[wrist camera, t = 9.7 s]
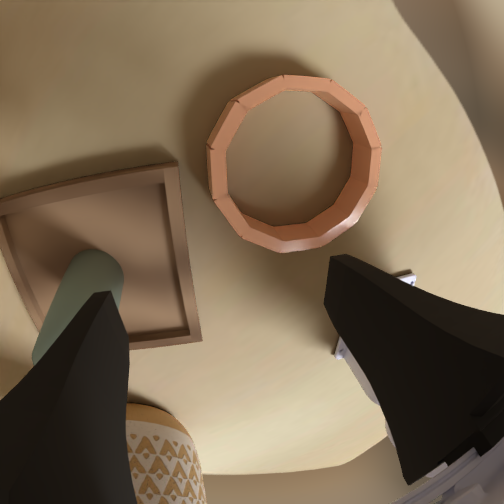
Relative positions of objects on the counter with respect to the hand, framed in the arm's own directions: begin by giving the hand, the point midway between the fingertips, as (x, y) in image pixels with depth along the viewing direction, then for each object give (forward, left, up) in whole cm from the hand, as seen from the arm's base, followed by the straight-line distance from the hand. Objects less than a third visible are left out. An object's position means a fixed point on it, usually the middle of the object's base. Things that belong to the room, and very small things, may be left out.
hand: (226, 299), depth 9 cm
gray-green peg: (-4, +8, -9) cm, 12 cm away
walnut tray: (-4, +8, -10) cm, 13 cm away
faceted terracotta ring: (+2, -6, -10) cm, 12 cm away
